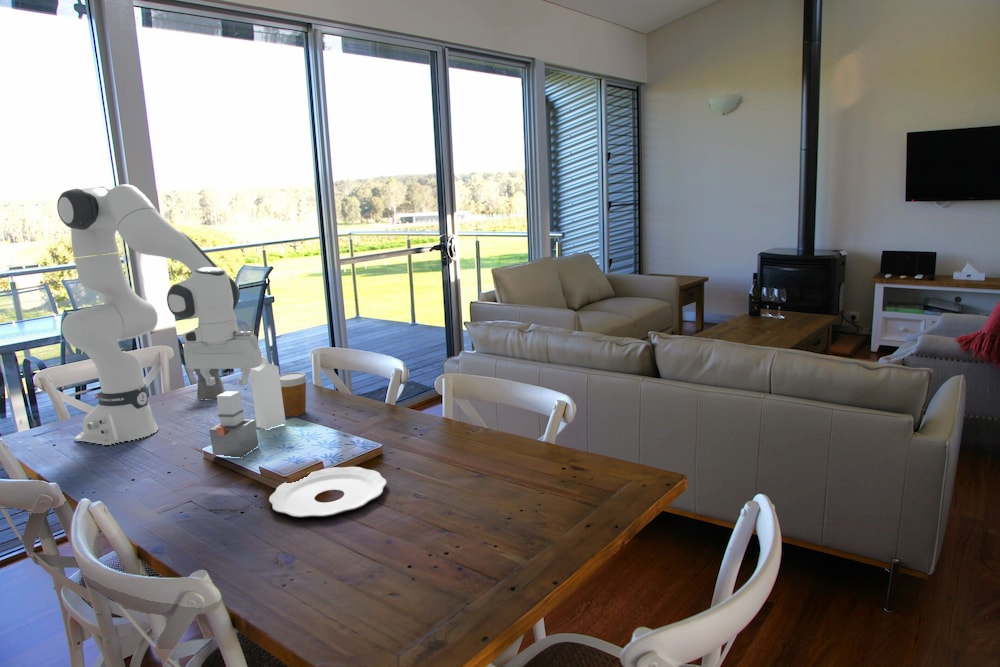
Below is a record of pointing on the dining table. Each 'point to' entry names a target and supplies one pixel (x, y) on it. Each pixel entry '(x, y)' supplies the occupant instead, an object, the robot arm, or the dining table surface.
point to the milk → (267, 395)
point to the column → (230, 409)
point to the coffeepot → (209, 390)
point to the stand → (234, 439)
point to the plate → (301, 493)
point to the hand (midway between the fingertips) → (227, 384)
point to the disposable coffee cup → (293, 393)
